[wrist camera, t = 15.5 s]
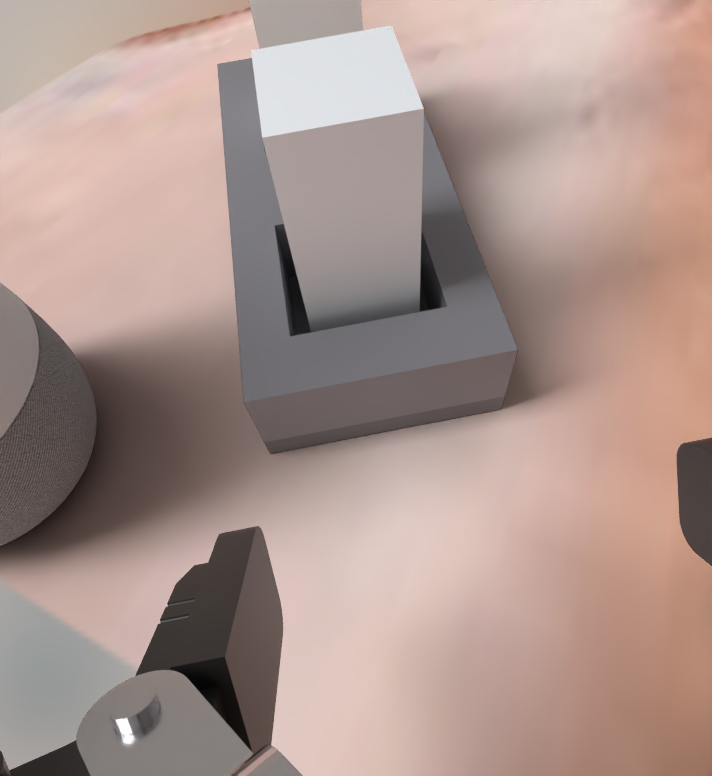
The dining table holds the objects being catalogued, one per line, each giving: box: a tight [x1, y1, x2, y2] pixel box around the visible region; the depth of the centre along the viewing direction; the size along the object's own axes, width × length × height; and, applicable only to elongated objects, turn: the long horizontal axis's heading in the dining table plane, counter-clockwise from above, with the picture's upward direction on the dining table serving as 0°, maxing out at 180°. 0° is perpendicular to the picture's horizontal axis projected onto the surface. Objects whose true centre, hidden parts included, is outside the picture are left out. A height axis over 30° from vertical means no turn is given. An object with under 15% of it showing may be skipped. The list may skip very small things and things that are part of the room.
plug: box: [251, 25, 424, 332], centre depth 19 cm, size 4×4×10 cm
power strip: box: [217, 0, 518, 454], centre depth 22 cm, size 9×20×11 cm, turn 10°
